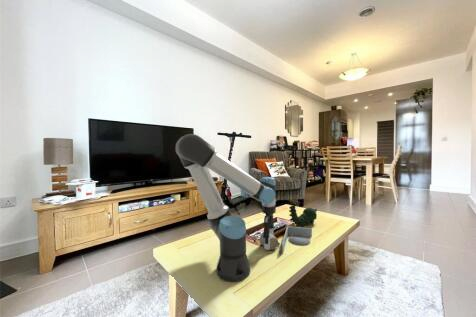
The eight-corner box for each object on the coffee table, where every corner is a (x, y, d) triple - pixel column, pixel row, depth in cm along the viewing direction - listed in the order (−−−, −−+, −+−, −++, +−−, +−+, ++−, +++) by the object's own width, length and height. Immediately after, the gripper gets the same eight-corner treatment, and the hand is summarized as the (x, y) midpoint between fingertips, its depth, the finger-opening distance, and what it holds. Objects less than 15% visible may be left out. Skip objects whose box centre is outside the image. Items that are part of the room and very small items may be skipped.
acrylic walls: (312, 258, 101) (312, 248, 100) (282, 253, 106) (281, 244, 105) (311, 236, 125) (311, 228, 125) (287, 233, 130) (287, 225, 130)
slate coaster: (310, 246, 112) (310, 245, 112) (287, 243, 116) (287, 242, 116) (310, 237, 124) (310, 236, 124) (289, 235, 128) (289, 234, 128)
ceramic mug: (268, 252, 107) (268, 238, 107) (259, 246, 114) (259, 232, 114) (283, 247, 113) (283, 233, 112) (273, 241, 120) (273, 228, 119)
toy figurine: (297, 232, 136) (323, 222, 147) (295, 204, 134) (321, 196, 146) (287, 227, 144) (312, 218, 156) (285, 201, 143) (311, 194, 154)
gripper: (271, 212, 100) (272, 255, 101) (278, 200, 121) (278, 236, 123) (256, 210, 102) (257, 253, 103) (266, 199, 124) (266, 235, 125)
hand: (269, 244), depth 113 cm, fingers closed on ceramic mug, 11 cm apart
